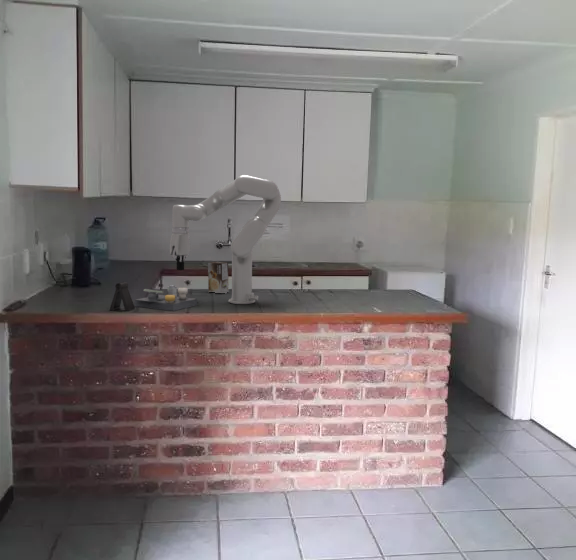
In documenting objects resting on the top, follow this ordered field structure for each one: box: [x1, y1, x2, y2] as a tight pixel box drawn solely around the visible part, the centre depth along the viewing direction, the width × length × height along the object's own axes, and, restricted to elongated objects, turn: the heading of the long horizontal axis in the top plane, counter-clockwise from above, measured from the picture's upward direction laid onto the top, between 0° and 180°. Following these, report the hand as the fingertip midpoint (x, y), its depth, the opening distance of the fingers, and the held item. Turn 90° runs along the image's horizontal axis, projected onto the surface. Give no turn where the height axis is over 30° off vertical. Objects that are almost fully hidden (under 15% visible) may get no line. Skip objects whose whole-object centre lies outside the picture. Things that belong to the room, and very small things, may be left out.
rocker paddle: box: [143, 288, 164, 295], centre depth 273 cm, size 5×9×2 cm, turn 152°
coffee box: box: [207, 261, 229, 294], centre depth 309 cm, size 9×6×16 cm
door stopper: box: [109, 281, 136, 312], centre depth 259 cm, size 9×6×12 cm, turn 78°
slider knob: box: [166, 284, 178, 297], centre depth 275 cm, size 3×3×5 cm
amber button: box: [164, 294, 175, 303], centre depth 263 cm, size 4×4×5 cm
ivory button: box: [177, 287, 189, 300], centre depth 271 cm, size 4×4×5 cm
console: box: [134, 293, 198, 312], centre depth 270 cm, size 22×17×4 cm
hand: (180, 269), depth 280 cm, fingers closed
